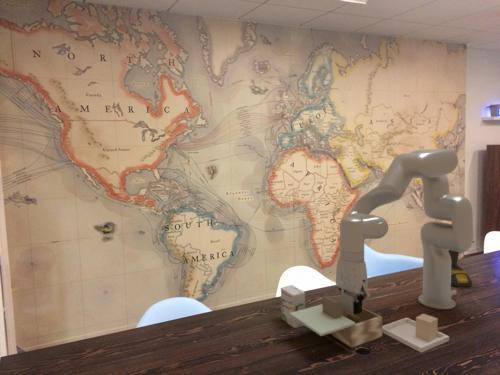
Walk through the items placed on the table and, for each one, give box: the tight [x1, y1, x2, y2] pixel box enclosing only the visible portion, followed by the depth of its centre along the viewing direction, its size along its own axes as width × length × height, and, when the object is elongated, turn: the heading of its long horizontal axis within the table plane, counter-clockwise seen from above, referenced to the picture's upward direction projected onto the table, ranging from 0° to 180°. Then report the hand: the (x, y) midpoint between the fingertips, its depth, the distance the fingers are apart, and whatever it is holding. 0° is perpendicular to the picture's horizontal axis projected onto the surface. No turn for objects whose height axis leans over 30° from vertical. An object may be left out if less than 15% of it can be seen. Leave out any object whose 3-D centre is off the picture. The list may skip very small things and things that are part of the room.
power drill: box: [448, 240, 475, 288], centre depth 154 cm, size 20×9×25 cm, turn 179°
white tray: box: [382, 317, 450, 354], centre depth 111 cm, size 13×15×2 cm
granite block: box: [341, 291, 359, 315], centre depth 115 cm, size 4×4×6 cm
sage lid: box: [290, 294, 355, 337], centre depth 109 cm, size 13×16×6 cm
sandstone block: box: [415, 313, 439, 342], centre depth 110 cm, size 4×4×6 cm
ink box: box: [280, 284, 306, 329], centre depth 124 cm, size 8×5×12 cm, turn 27°
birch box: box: [328, 300, 383, 348], centre depth 115 cm, size 13×16×7 cm
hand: (351, 309), depth 115 cm, fingers closed on granite block, 4 cm apart
